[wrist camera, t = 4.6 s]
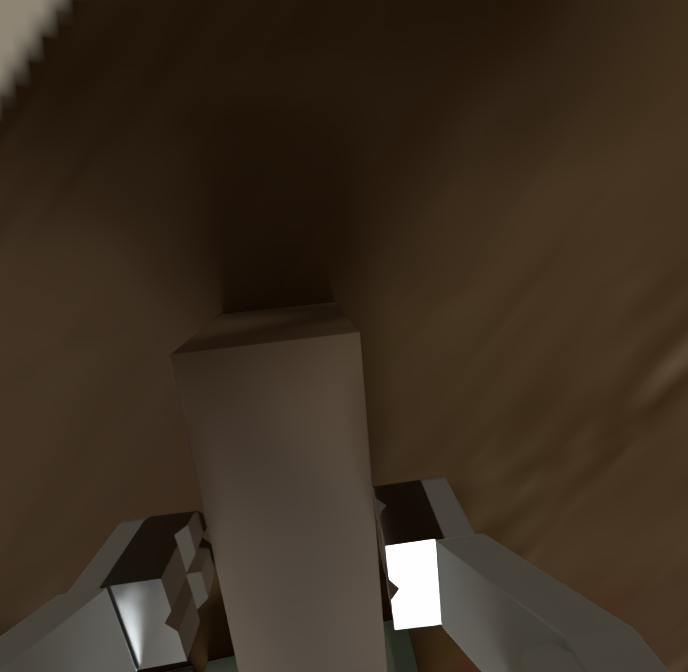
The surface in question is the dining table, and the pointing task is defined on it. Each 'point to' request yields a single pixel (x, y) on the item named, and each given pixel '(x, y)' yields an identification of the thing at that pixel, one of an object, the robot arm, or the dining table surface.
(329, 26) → the dining table surface
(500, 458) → the dining table surface
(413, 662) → the tray
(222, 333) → the taupe rectangular slab
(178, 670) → the grey metal shallow bin
